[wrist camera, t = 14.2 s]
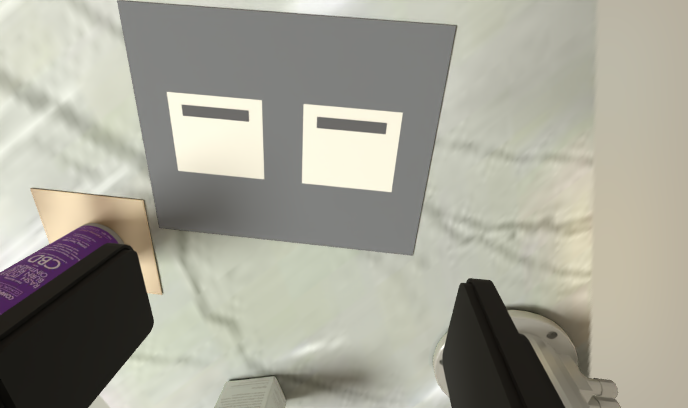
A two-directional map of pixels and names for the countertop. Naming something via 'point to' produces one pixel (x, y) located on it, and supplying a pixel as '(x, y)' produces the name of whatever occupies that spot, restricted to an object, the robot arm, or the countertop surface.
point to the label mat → (287, 121)
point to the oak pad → (113, 212)
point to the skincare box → (252, 394)
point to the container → (51, 262)
